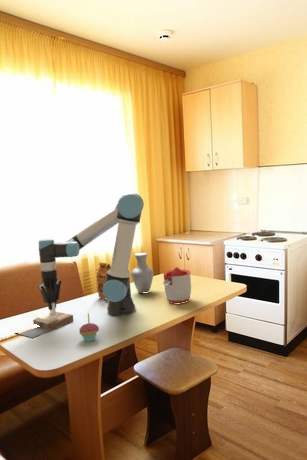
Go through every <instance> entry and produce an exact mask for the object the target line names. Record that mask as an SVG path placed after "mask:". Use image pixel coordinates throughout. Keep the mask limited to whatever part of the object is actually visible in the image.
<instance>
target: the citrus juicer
mask: <svg viewBox="0 0 307 460" xmlns="http://www.w3.org/2000/svg"><path fill="white" fill-rule="evenodd" d="M162 274H163V285H164V293H165V296H166V298H167V299H166V300H167V301H168V303H169V302H172V303H182V302H186V301H188V300H189V301H190V300H191V299H190V298H191V294H192V293H191V292H192V282H191V279H192V278H191V270H188V269H180V267H179V268H178V266H177V267H174V269H169V270H166V271H164V272H163V273H162ZM189 301H188V302H189ZM172 303H171V304H172ZM186 303H187V302H186ZM182 304H183V303H182Z"/></svg>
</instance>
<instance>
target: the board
mask: <svg viewBox="0 0 307 460" xmlns="http://www.w3.org/2000/svg"><path fill="white" fill-rule="evenodd" d="M55 316H57V317H58V320H56V321H54V322H51V323H49V324H47V323H43V322H38V321H36V318H34V319H33V320H32V322H33V323H32V324H33V325H34V324H37V325H39V326H40V327H44V328H49V329H52V330H56V329H58V328H60V327H62V326H65V325H67V324H69V323H71V322H74V315H73V314H69V313H65V312H60V311H56V315H55ZM52 330H51V331H52Z"/></svg>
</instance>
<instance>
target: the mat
mask: <svg viewBox="0 0 307 460" xmlns="http://www.w3.org/2000/svg"><path fill="white" fill-rule="evenodd" d="M51 331H52V329H49V328H44V327H37V328H34V329H31V330H28V331H25V332H23V333H21V334H20V336H23V337H26V338H30V339H35V338H37V337H39V336H41V335H43V334H46V333H49V332H51Z"/></svg>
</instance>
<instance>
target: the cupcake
mask: <svg viewBox="0 0 307 460" xmlns="http://www.w3.org/2000/svg"><path fill="white" fill-rule="evenodd" d="M99 331H100V328H99V326H98V325H97V324H96V323H92V322H91V321H90V313H89V312H87V323H86V324H85V323H84V324H83V325H82V326H80V328H79V334H80V335H81V337H82V338H83V340H84V341H85V342H87V343H88V342H89V343H90V342H93V341H95V339H96V337H97V333H98V332H99Z"/></svg>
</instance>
